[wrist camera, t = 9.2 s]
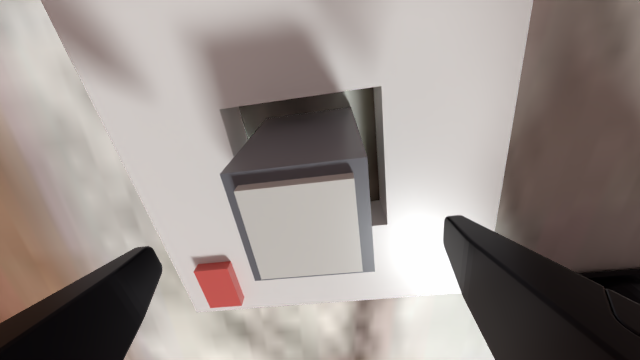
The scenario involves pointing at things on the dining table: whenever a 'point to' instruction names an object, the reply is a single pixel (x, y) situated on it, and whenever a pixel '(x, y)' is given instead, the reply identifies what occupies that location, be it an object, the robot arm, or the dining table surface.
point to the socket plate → (296, 82)
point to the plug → (303, 197)
